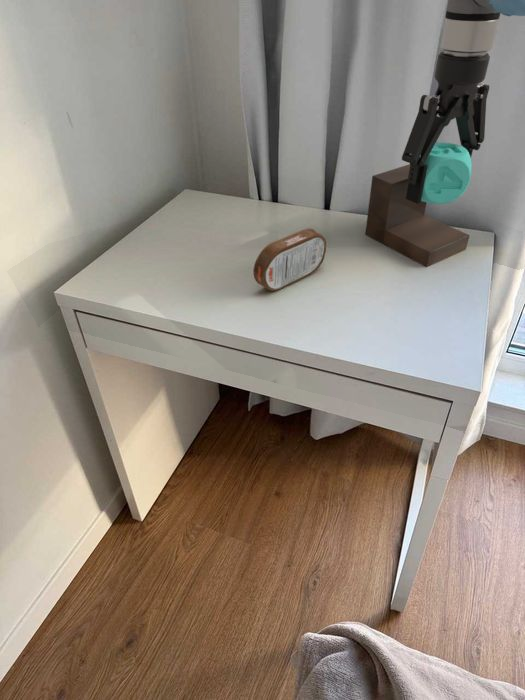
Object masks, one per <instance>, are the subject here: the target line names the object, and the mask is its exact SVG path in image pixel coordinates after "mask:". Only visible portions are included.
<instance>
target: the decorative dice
mask: <svg viewBox="0 0 525 700" xmlns="http://www.w3.org/2000/svg"><path fill="white" fill-rule="evenodd" d="M420 157H421V155H420ZM424 164H426V165H428V166H427V172H426V177H425V182H424V187H423V192H422V197H421V201H423V202H427V203H426V204H435V205H444V204H445V205H446V204H449V203H453V202H454V201H456V200H458V199H459V198H460V197H461V196H462V195H464V193H465V192H467V191H466V190H467V189H468V187H469V185H470V181H471V177H472V156H471V157H470V154H469V152H468V151H467V149H466V148H464V147H463V146H461V144H456V143H453V142H452V143H451V142H443V141H441V142H440V141H439V142H437V141H436V143H435V145H434V147H433V148H432V150H431V152H430V154H429V156H428V158H427V160H426V161H425V163H424Z"/></svg>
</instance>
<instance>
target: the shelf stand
mask: <svg viewBox="0 0 525 700" xmlns="http://www.w3.org/2000/svg"><path fill="white" fill-rule="evenodd" d="M409 169H410V163H409V164H406V165H403V166H399V167H396V168H393V169H390V170H387V171H384V172H380V173H377V174H373V175H372V177H371V185H370V191H369V192H370V193H369V200H368V209H367V218H366V225H365V232H364V233H365V235H366V236H367V237H369V238H371V239H373V240H375V241H377V242H379V244H380V243H381V244H383V245H385V246H386V247H388V248H390V249H392V250H394V251H396V252H398V253H399V254H401V255H403V256H405V257H407V258H409V259H411V260H413V261H415V262H416V263H418V264H420V265H422V266H424V267H426V268H428V267H430V266H433V265H434V264H437V263H439V262H441V261H443V260H445V259H448V258H450V257H452V256H454V255H457V254H459V253H461V252H463V251H465V250H467V247H468V244H469V239H470V234H468V233H467V232H464V231H462V230H459V229H457V228H455V227H453V226H450V225H448V224H446V223H443V222H441V221H439V220H437V219H435V218H432V217H430V216H427V215H425V213H426V207H427V204H428V203H427V202H423V201H421V203H419V204H417V203H414V202H412V201H410V200H407V199H406V194H407V189H408V177H409V176H408V175H409Z"/></svg>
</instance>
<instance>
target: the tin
mask: <svg viewBox="0 0 525 700" xmlns="http://www.w3.org/2000/svg"><path fill="white" fill-rule="evenodd" d="M326 252H327V240H326V238H325V237H324V236H323V235H322V234H321V233H319V232H317V231H316V230H315V229H314V228H311V227H310V228H309V227H308V228H304V229H301V230H299V231H297V232H294V233H292V234H290V235H287V236H285V237H282V238H280V239H277V240H275V241H272V242H270V243H269V244H267V245H266V246H265V247H264V248H263V249H262V250H261V251H260V253H259V254H258V255H257V257H256V260H255V262H254V265H253V278H254V280H255V282H256V283H257V284H258V285H260V286H261V287H263V288H265V289H266V290H268V291H272V292H274V291H275V292H276V291H279V290H282V289H284V288H285V287H288V286H290V285H292V284H294V283H296V282H298V281H301V280H303V279H305V278H306V277H310V276H312V275H313V274H314V273H315V272H316V271H317V270H318V269H319V268H320V266H321V265H322V264H323V262H324V260H325V257H326V256H325V255H326Z"/></svg>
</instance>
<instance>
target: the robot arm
mask: <svg viewBox="0 0 525 700" xmlns="http://www.w3.org/2000/svg"><path fill="white" fill-rule="evenodd" d="M444 15H445V16H444V18H445V19H444V23H443V29H442V34H441V39H440V45H439V47H440V49H441V50H442V51H440V53H438V55H437V59H436V64H435V70H434V76H433V77H434V79H435V80H436V82H437V88H436V91H435V93H434V94H433V95H428V94H423V95H422V96H421V97H420V101H419V106H418V107H419V108H418V111H417V115H416V118H415V120H414V123H413V125H412V128H411V131H410V134H409V135H408V139H407V142H406V144H405V147H404V150H403V153H402V155H401V161H403V162H406V163H409V164H410V169H409V175H408V176H409V177H408V189H407V194H406V199H407V200H410V201H412V202H414V203H417V204H419V203H421V197H422V192H423V187H424V182H425V177H426V172H427V166H428V165H426V164H424V163H425V161H426V160H427V158H428V156H429V154H430V152H431V150H432V148H433V147H434V145H435V143H437V141H438V139H439V138H440V135H442V132H443V130H444V129H445V127H448V126H449V124H450V123H451V121H452V120H454V119H455V122H456V126H457V127H456V128H457V133H458V138H459V143H460V146H462V147H464V148H466V149H467V151H468V152H469V154H470V157H471V158H472V156H473V152H474V151H479V149H481V144H483V142H484V141H485V136H486V135H485V134H486V133H485V132H486V113H487V99H488V95H489V92H490V85H489V84H485V83H482V82H484V80H485V79H486V76H487V71H488V67H489V63H490V58H491V56H490V54H489V52H490V51H491V50H492V49H493V48H494V45H495V40H496V39H495V38H496V34H497V31H498V26H499V21H500V17H501V15H503V16H506V17H512V16H515V17H525V0H447V5H446V11H445V14H444ZM437 115H438V116H437ZM420 155H421V157H420Z"/></svg>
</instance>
